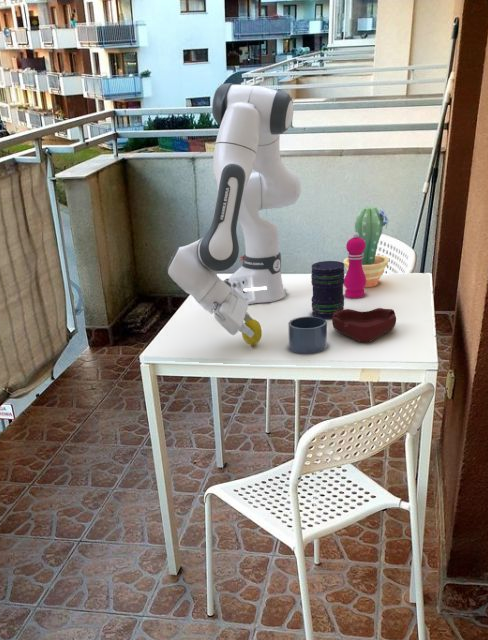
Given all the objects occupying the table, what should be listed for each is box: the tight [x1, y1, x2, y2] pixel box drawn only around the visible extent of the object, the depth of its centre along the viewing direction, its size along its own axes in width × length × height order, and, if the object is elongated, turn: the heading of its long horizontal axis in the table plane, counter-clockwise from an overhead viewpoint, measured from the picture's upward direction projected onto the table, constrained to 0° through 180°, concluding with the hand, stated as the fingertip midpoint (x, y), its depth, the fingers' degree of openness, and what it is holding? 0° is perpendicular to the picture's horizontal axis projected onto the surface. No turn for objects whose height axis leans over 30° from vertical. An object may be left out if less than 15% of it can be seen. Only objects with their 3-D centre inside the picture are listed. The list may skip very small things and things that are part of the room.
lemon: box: [241, 317, 263, 347], centre depth 193 cm, size 6×6×8 cm
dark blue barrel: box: [310, 260, 346, 320], centre depth 210 cm, size 10×10×15 cm
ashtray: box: [331, 307, 397, 344], centre depth 195 cm, size 18×16×5 cm
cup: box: [287, 315, 328, 355], centre depth 190 cm, size 10×10×7 cm
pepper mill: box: [343, 232, 366, 299], centre depth 223 cm, size 7×7×20 cm
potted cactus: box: [342, 205, 390, 288], centre depth 232 cm, size 15×15×25 cm
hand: (254, 330), depth 193 cm, fingers closed on lemon, 5 cm apart
